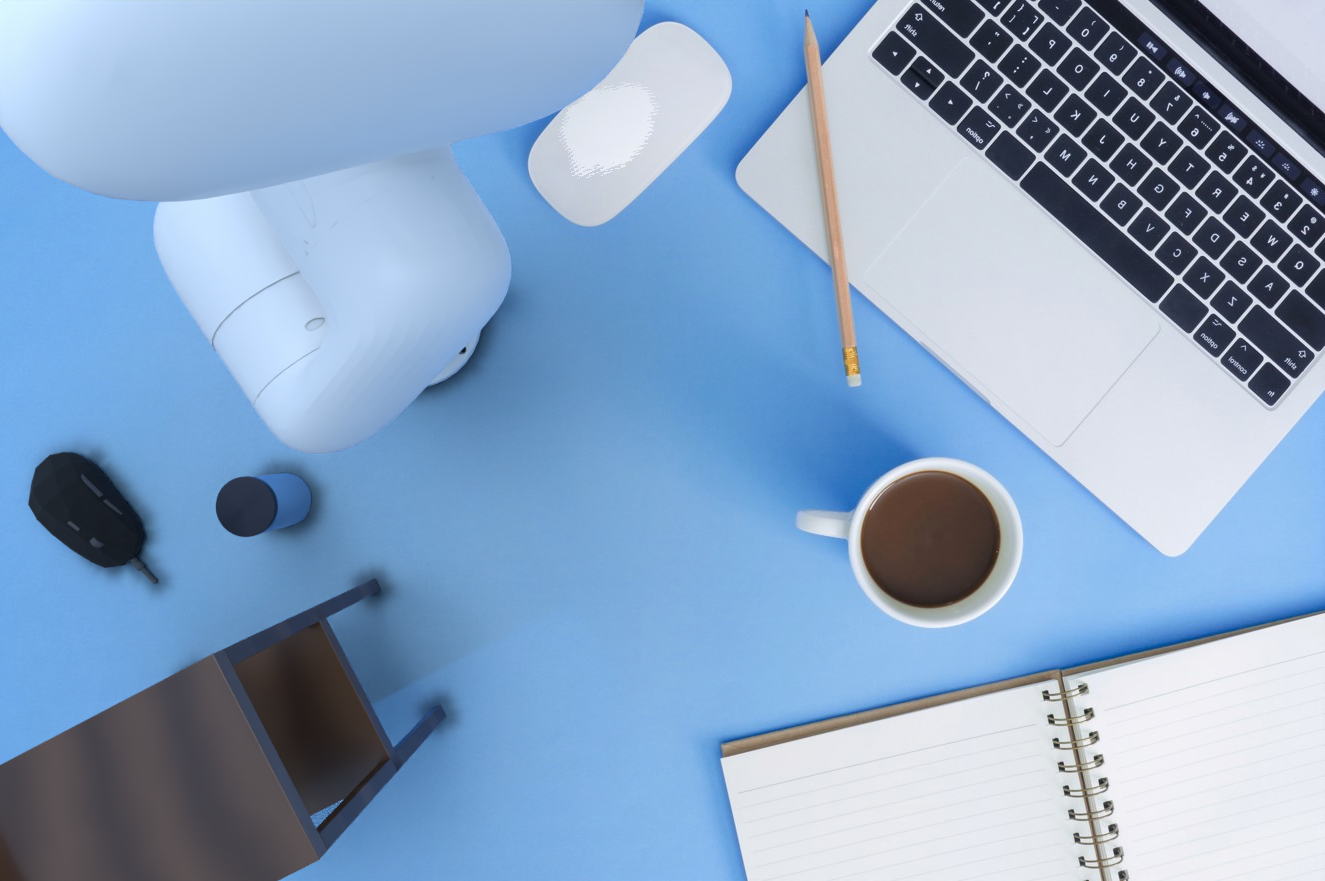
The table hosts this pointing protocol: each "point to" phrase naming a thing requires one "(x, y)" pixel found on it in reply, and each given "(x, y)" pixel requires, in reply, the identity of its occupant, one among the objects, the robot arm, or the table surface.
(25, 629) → the table surface
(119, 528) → the gaming mouse
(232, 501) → the steel tin
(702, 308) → the table surface
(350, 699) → the rack frame
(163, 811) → the top shelf
